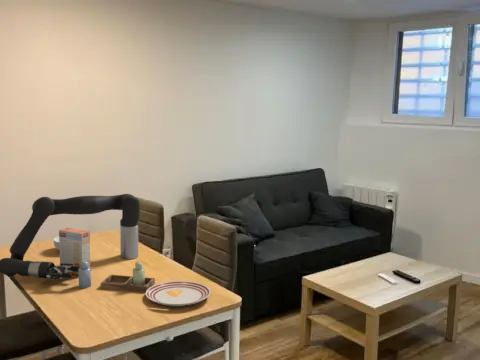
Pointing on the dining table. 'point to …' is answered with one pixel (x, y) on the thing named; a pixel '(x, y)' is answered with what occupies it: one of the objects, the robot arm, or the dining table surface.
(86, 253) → the cracker box
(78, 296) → the dining table surface
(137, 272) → the green bottle
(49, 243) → the dining table surface
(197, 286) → the dinner plate
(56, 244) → the cereal bowl
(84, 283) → the blue bottle
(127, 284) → the caddy
